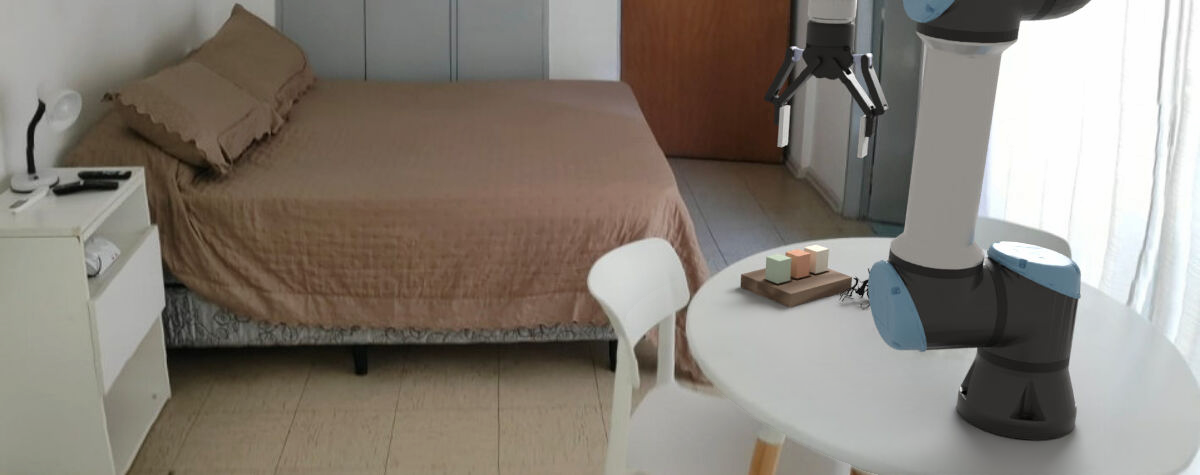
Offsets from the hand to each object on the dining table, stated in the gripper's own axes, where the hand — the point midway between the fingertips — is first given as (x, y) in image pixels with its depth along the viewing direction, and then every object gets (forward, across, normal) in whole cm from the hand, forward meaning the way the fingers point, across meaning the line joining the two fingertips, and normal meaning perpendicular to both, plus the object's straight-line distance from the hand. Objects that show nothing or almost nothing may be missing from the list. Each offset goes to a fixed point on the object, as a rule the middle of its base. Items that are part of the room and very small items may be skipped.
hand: (821, 151), depth 194 cm
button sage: (+23, +6, +1) cm, 24 cm away
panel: (+26, +4, -4) cm, 26 cm away
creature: (+26, -7, -4) cm, 27 cm away
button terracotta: (+23, +4, -4) cm, 24 cm away
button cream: (+23, +2, -8) cm, 25 cm away
